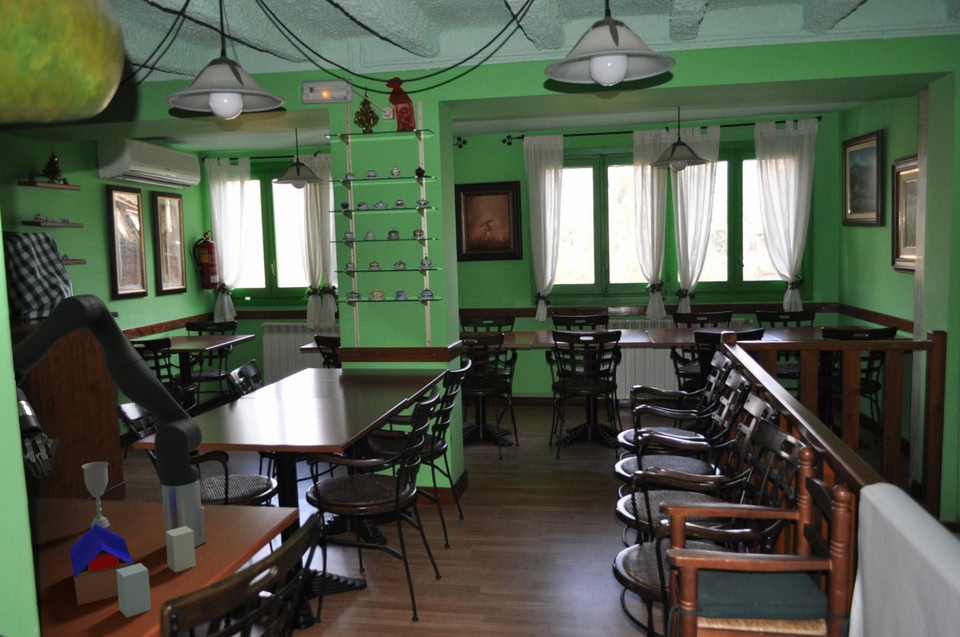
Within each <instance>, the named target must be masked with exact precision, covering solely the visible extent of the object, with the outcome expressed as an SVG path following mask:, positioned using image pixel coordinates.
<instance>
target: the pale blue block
mask: <svg viewBox="0 0 960 637" xmlns="http://www.w3.org/2000/svg"><path fill="white" fill-rule="evenodd" d="M116 572H117V585H118V596H117V597H118V608H119V612H121V613H122V614H123V615H124V617H126V618H130V617H134V616H136V615H139V614H142V613H145V612H149V611H152V604H151V603H152V602H151V592H150V578H149V575H150V574H149V569H148V568H147V567H146V566H145V565H143V564H142V563H141V562H139V563H136V564H134V565H132V566H128V567H125V568H121V569H118V570H116Z"/></svg>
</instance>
